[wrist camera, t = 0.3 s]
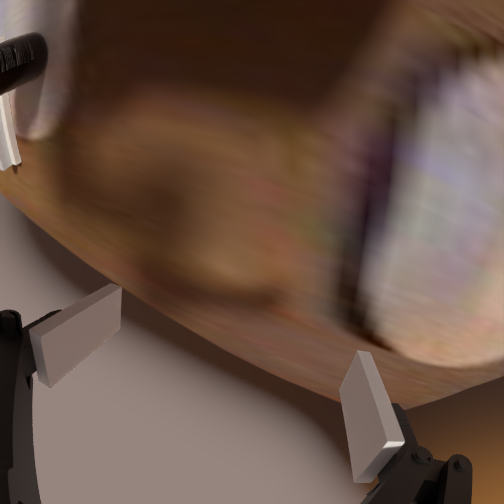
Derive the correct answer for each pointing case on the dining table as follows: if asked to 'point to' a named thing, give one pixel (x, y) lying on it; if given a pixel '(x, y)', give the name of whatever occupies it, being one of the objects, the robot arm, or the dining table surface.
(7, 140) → the rail cradle
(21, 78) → the supplement bottle
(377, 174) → the dining table surface
